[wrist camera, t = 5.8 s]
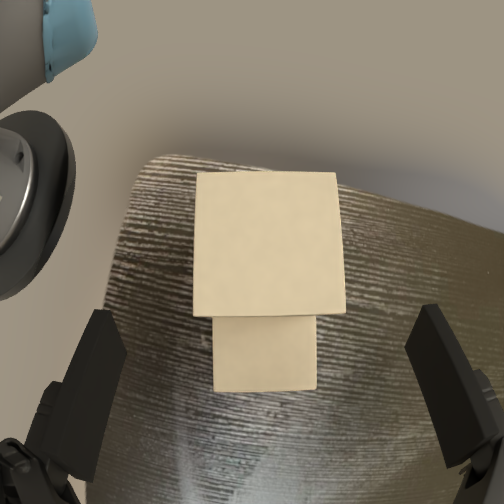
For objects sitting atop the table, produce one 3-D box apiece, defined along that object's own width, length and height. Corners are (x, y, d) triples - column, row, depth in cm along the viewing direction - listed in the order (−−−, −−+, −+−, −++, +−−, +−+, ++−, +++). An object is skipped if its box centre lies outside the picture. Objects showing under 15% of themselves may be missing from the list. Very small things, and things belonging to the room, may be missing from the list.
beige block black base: (217, 226, 23) (195, 162, 14) (302, 225, 23) (336, 162, 14) (217, 381, 21) (193, 426, 11) (307, 379, 21) (348, 420, 11)
